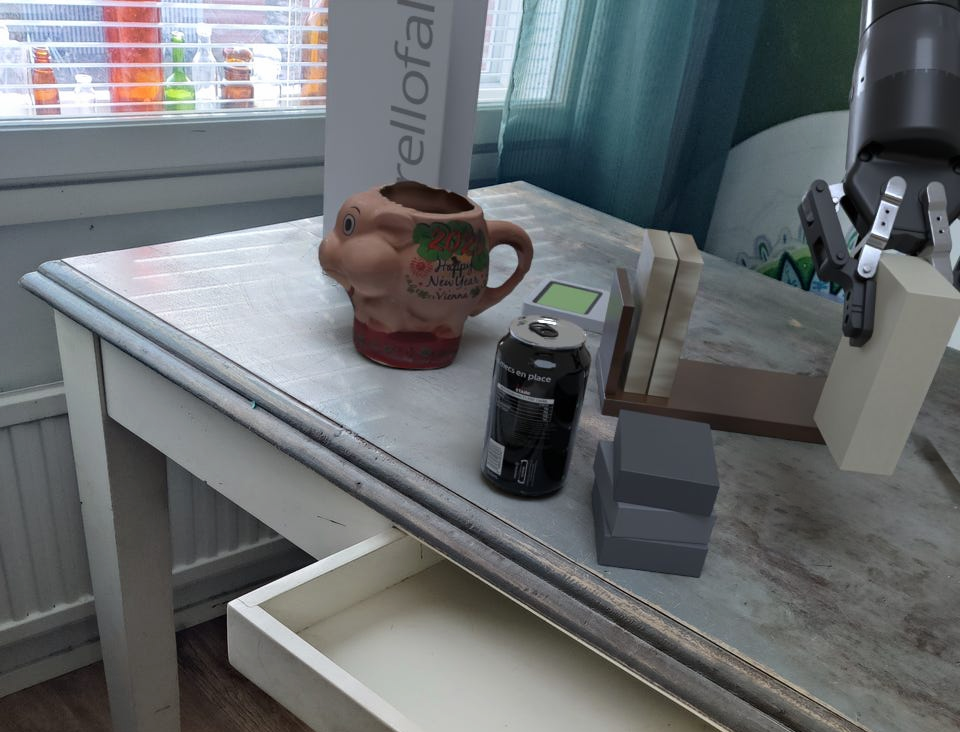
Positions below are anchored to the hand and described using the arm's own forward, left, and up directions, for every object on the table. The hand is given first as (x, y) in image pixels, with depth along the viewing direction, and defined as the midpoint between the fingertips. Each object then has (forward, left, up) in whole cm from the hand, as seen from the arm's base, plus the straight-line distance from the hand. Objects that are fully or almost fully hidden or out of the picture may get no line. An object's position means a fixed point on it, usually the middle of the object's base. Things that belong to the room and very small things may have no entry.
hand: (893, 345), depth 64 cm
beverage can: (+22, -4, -16) cm, 28 cm away
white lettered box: (+37, -43, -16) cm, 59 cm away
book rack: (+3, -24, -16) cm, 29 cm away
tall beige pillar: (0, 0, -8) cm, 8 cm away
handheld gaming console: (+14, -43, -16) cm, 48 cm away
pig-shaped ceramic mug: (+32, -27, -16) cm, 45 cm away
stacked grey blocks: (+13, +1, -16) cm, 21 cm away
